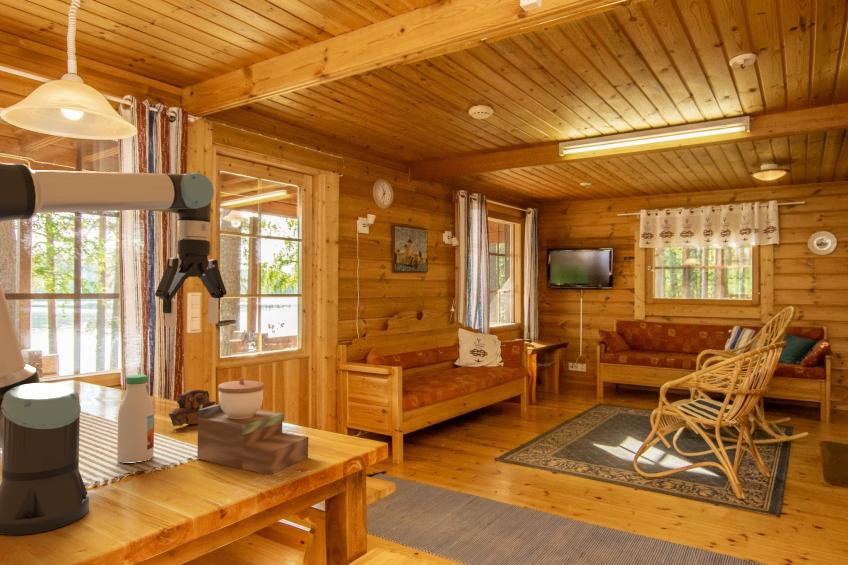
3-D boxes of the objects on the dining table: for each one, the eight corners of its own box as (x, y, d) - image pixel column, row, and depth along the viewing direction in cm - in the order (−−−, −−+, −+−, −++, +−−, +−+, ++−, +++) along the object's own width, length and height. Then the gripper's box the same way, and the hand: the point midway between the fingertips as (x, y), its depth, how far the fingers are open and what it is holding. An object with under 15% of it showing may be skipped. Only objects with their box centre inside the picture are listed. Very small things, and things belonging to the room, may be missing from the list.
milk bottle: (138, 466, 133) (140, 379, 133) (109, 463, 135) (110, 377, 134) (160, 456, 141) (161, 373, 140) (132, 453, 142) (133, 372, 142)
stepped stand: (270, 474, 129) (271, 421, 129) (197, 459, 139) (198, 409, 138) (308, 457, 142) (309, 408, 142) (239, 444, 151) (239, 398, 151)
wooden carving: (180, 432, 162) (181, 396, 162) (167, 430, 163) (167, 395, 163) (218, 418, 177) (219, 385, 177) (206, 417, 179) (206, 384, 179)
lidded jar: (236, 424, 134) (237, 383, 133) (208, 416, 140) (208, 378, 140) (272, 415, 142) (273, 377, 142) (244, 408, 148) (245, 372, 148)
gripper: (162, 235, 130) (161, 329, 130) (241, 242, 153) (239, 322, 153) (139, 235, 133) (138, 327, 133) (219, 242, 156) (218, 320, 156)
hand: (192, 325), depth 143 cm, fingers open, 13 cm apart
